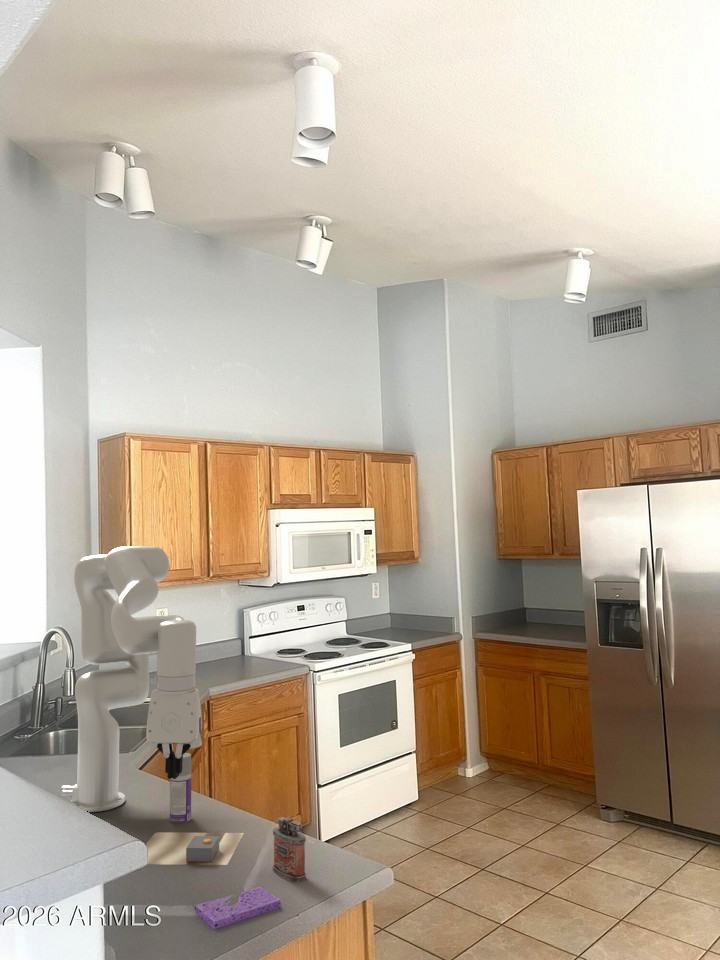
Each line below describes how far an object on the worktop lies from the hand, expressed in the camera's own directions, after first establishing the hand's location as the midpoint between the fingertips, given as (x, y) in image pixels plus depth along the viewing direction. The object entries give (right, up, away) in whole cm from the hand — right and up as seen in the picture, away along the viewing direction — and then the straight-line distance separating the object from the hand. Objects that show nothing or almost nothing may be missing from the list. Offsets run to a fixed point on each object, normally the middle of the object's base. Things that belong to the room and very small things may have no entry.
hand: (173, 776), depth 149 cm
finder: (+6, -15, -2) cm, 16 cm away
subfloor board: (+3, -16, +2) cm, 17 cm away
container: (-3, -18, +18) cm, 26 cm away
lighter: (+24, -15, -8) cm, 29 cm away
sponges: (+16, -15, -22) cm, 31 cm away
